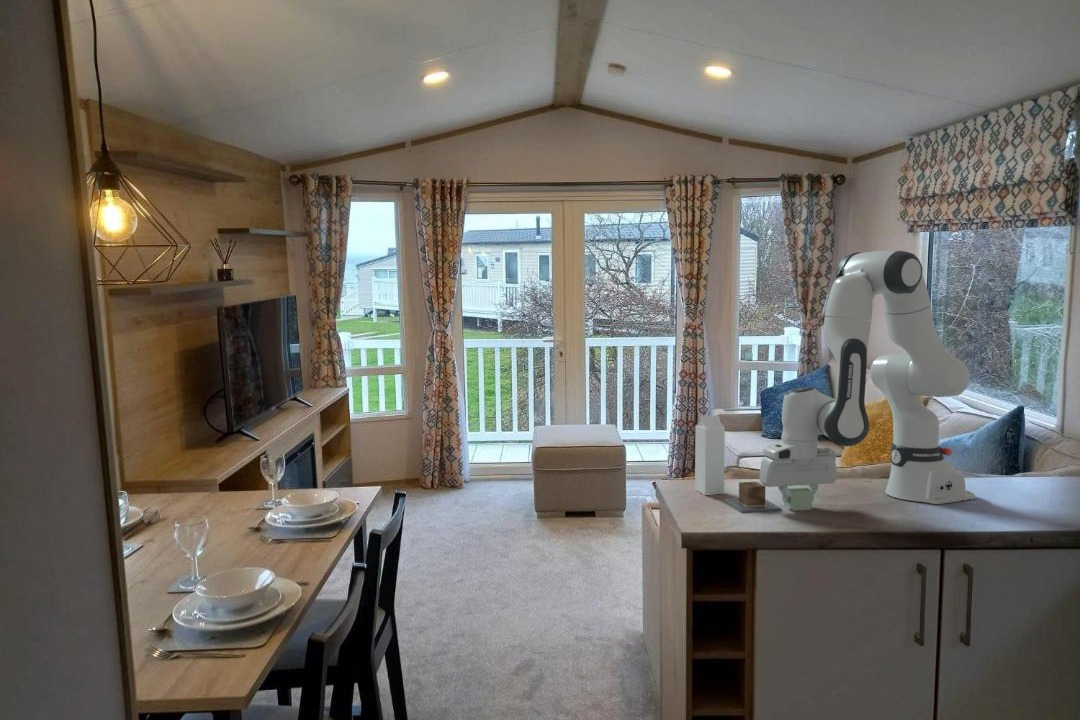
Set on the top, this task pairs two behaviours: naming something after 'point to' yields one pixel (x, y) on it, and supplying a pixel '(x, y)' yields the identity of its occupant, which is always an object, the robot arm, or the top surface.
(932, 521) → the top surface
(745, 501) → the walnut block
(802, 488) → the green block
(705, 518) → the top surface
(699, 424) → the milk
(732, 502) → the coaster
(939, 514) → the top surface
